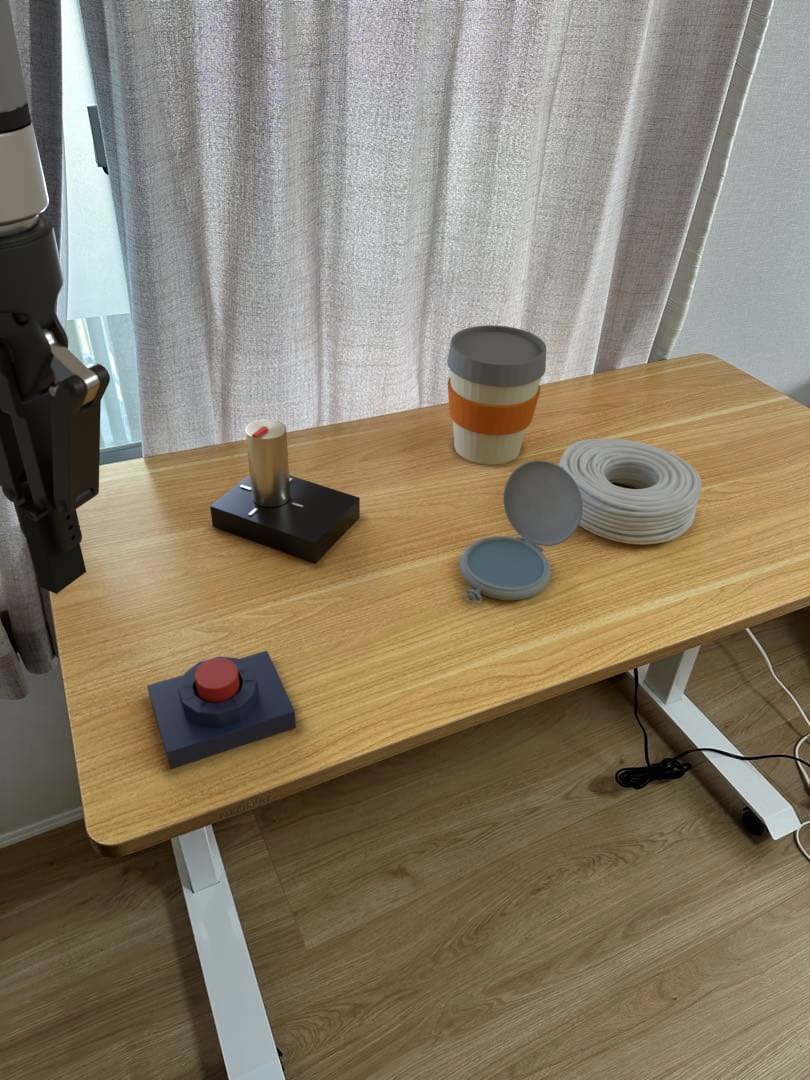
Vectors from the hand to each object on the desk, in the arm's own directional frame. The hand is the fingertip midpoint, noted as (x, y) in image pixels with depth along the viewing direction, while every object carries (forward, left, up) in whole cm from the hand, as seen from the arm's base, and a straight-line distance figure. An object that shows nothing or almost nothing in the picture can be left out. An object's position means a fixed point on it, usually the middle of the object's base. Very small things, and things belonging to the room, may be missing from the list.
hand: (63, 578), depth 54 cm
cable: (+27, +59, -21) cm, 68 cm away
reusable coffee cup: (+7, +64, -21) cm, 67 cm away
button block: (+4, +9, -21) cm, 23 cm away
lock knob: (-9, +36, -17) cm, 41 cm away
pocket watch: (+19, +40, -21) cm, 49 cm away
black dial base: (-7, +36, -21) cm, 42 cm away
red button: (+4, +9, -17) cm, 19 cm away
